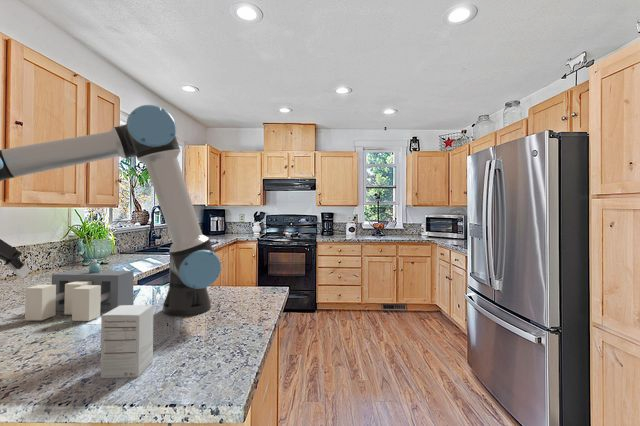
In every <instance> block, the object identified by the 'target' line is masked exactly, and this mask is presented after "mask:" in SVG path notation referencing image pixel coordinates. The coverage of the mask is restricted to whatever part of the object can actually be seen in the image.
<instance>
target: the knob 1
mask: <svg viewBox="0 0 640 426" xmlns="http://www.w3.org/2000/svg"><path fill="white" fill-rule="evenodd" d="M24 295H25V301H24V321H44V320H46V319H49V318H51V317H55V316H56V311H55V309H56V302H57V301H60V300H63V299H65V292H63V293H59V294H56V285H52V284H37V285H32V286H28V287H26V288H25V293H24Z"/></svg>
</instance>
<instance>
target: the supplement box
mask: <svg viewBox="0 0 640 426" xmlns="http://www.w3.org/2000/svg"><path fill="white" fill-rule="evenodd" d="M100 317H101V322H100V323H101V324H100V325H101V327H100V329H101V330H100V333H101V334H100V335H101V336H100V378H102V379H120V378H122V377H130V378H138V377H140V375H141V374H143V372H144V371H145V370H146V369H147V368H148V367H149V366H150V365H151V364H152V362H153V361H154V305H153V304H132V305H120V306H118V307H116V308H114V309H113V310H111V311H106V313H103V314H102V315H100ZM122 379H123V378H122Z"/></svg>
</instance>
